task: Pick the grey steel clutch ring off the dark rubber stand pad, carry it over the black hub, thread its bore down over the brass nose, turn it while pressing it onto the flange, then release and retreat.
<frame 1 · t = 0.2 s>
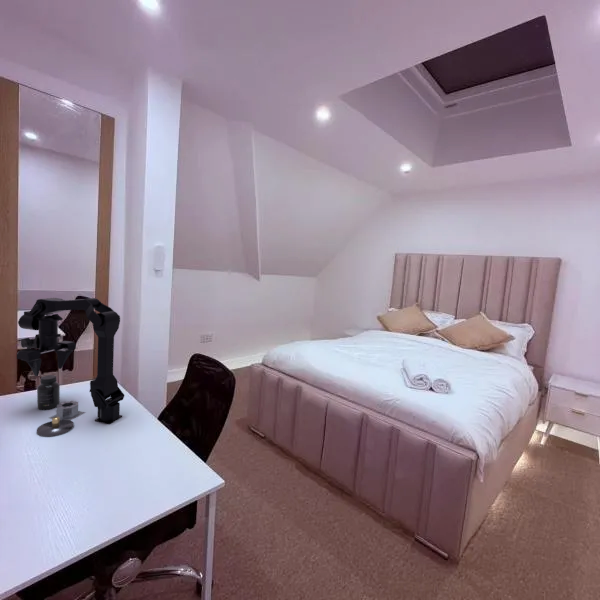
hand: (48, 372, 123), 14 cm above the table, fingers open, 9 cm apart
clutch ring: (67, 415, 120), resting on stand pad
supplement bottle: (48, 407, 125), on the table
hub: (55, 429, 110), on the table
stand pad: (67, 415, 120), on the table
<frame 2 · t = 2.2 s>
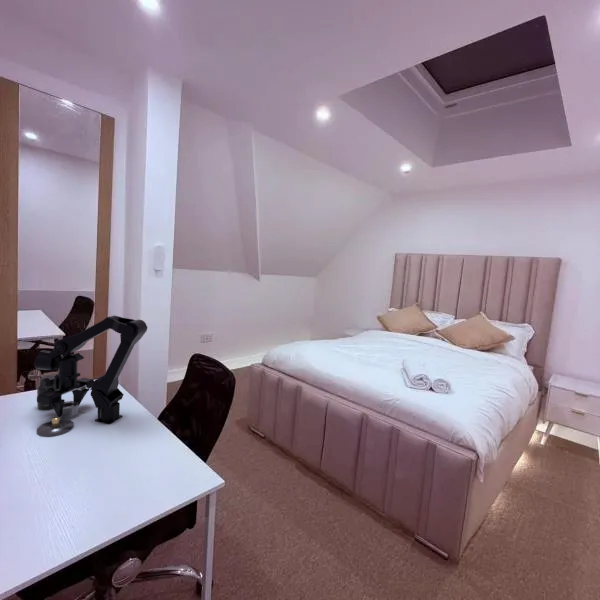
hand: (67, 412, 120), 1 cm above the table, fingers closed on clutch ring, 6 cm apart
clutch ring: (67, 415, 120), resting on stand pad, touching gripper
everything else where it was.
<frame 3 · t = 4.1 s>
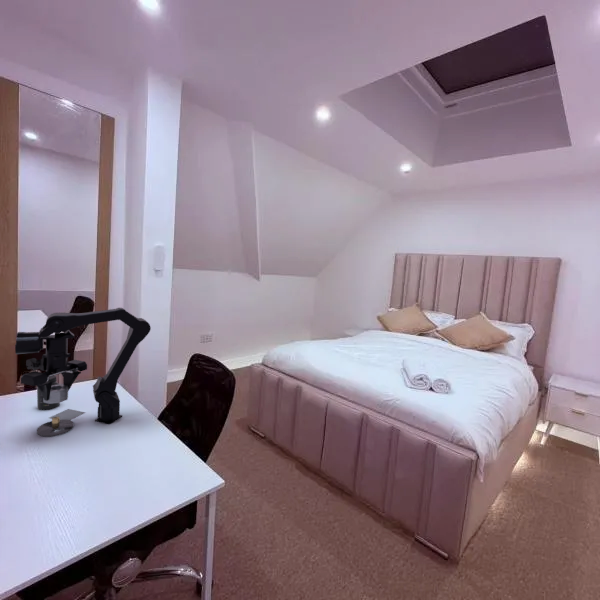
hand: (56, 396, 109), 11 cm above the table, fingers closed on clutch ring, 6 cm apart
clutch ring: (56, 399, 109), point 10 cm above the table, touching gripper
everything else where it was.
when the fingers open (2 cm above the table, at t = 5.8 s): clutch ring stays where it is, resting on hub.
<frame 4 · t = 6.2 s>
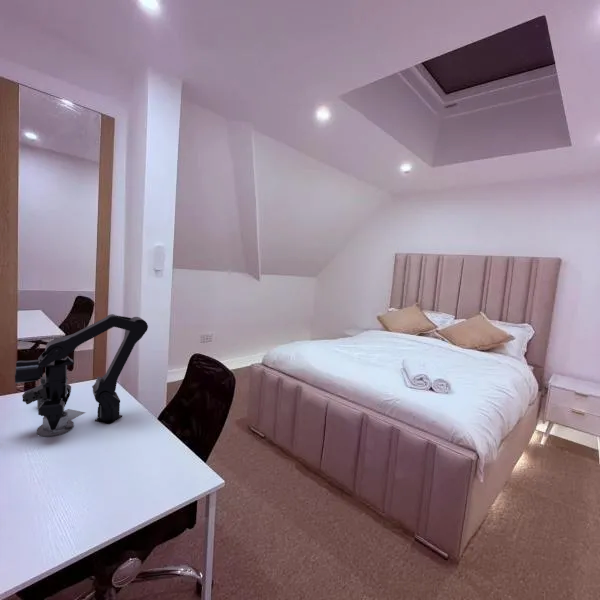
hand: (55, 422, 110), 2 cm above the table, fingers open, 9 cm apart
clutch ring: (55, 426, 110), point 1 cm above the table, touching hub
everything else where it was.
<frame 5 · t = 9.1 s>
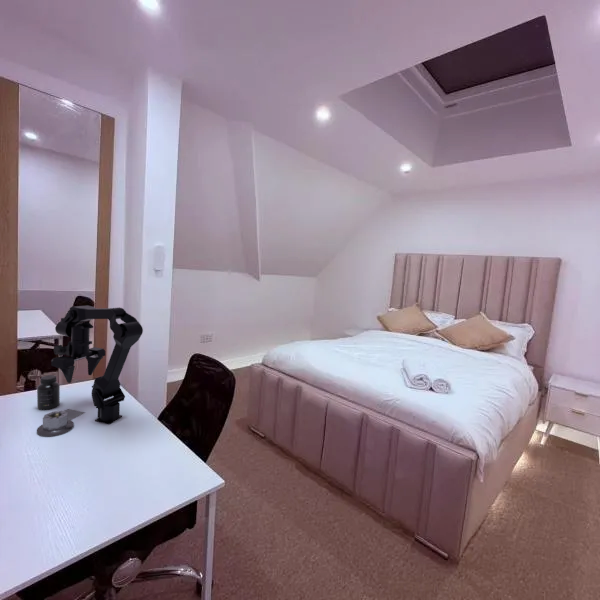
hand: (79, 378, 124), 12 cm above the table, fingers open, 9 cm apart
nothing on the table moved.
at the end: clutch ring 0.0 cm off-centre on the hub, point 1.2 cm above the hub's base; clutch ring tilted 0°; the gripper is holding nothing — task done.
